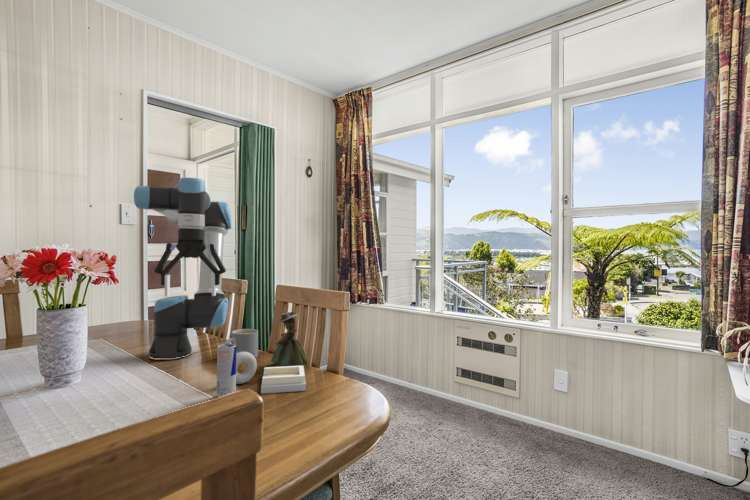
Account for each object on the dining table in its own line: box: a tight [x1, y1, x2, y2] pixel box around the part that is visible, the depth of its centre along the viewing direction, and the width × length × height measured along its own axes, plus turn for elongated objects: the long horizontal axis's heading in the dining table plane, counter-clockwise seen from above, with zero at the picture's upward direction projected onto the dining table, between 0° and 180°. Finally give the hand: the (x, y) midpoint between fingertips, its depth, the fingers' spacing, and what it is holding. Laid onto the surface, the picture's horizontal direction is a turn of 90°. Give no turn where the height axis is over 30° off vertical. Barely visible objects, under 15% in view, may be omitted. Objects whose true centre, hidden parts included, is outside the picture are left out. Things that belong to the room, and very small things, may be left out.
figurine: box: [271, 311, 309, 367], centre depth 141 cm, size 14×14×20 cm
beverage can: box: [216, 343, 237, 398], centre depth 111 cm, size 5×5×15 cm
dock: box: [260, 365, 307, 394], centre depth 123 cm, size 16×13×4 cm
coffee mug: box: [223, 328, 259, 358], centre depth 151 cm, size 13×10×10 cm
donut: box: [236, 352, 258, 385], centre depth 122 cm, size 10×4×10 cm, turn 135°
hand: (190, 295), depth 121 cm, fingers open, 13 cm apart
